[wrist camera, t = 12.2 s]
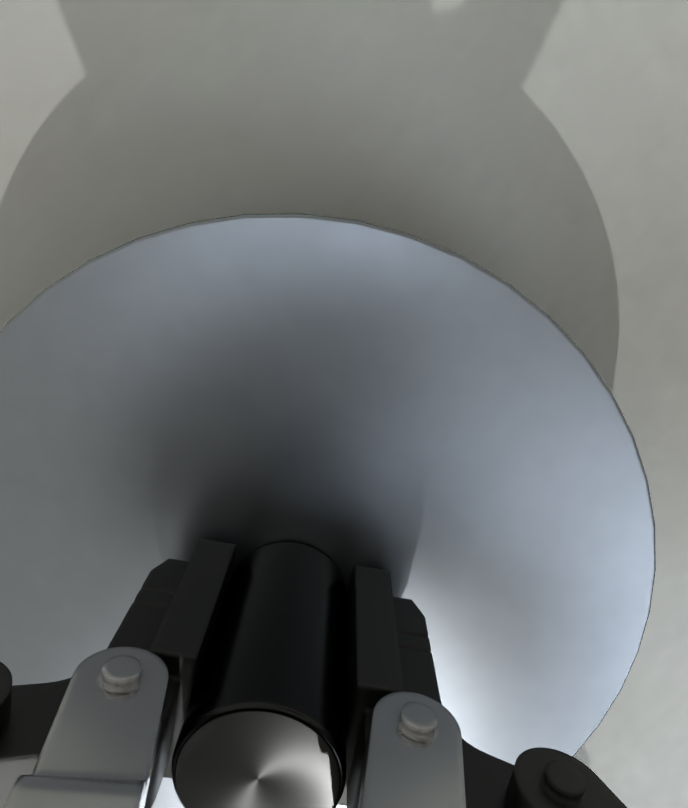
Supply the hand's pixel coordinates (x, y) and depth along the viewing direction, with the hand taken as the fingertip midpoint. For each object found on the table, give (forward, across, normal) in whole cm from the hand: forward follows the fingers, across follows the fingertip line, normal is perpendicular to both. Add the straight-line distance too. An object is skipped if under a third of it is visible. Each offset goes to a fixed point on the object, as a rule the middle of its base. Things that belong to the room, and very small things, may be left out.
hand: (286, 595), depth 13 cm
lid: (+1, 0, 0) cm, 1 cm away
